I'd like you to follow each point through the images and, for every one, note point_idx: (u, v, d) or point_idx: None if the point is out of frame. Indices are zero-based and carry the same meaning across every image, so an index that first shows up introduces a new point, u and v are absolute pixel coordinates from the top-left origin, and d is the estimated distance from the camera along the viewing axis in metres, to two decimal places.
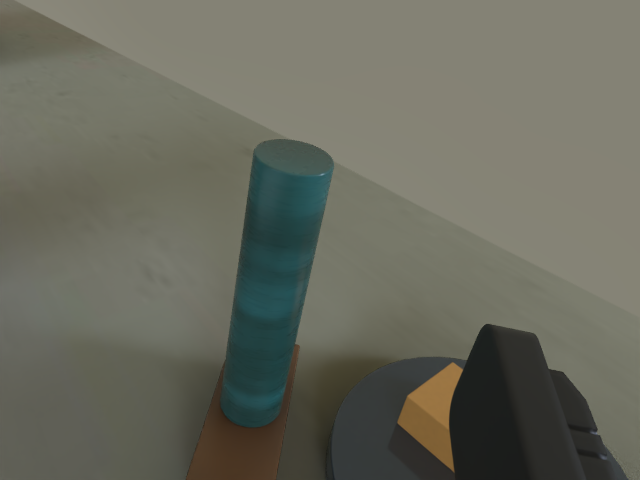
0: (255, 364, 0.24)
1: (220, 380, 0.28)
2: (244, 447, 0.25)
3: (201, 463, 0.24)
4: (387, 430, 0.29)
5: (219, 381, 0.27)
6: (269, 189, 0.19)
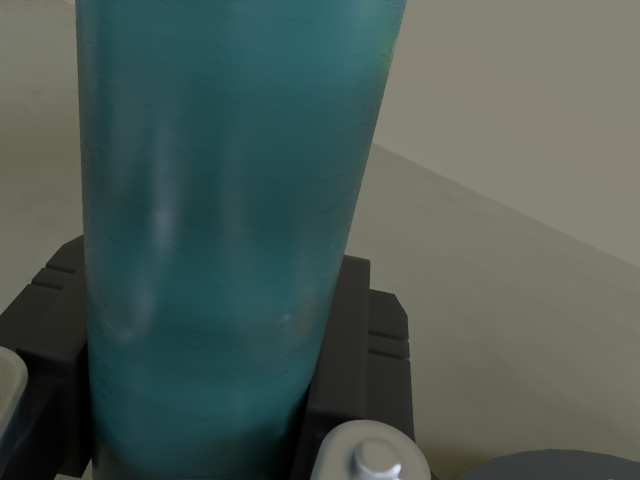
0: None
1: None
2: None
3: None
4: None
5: None
6: None
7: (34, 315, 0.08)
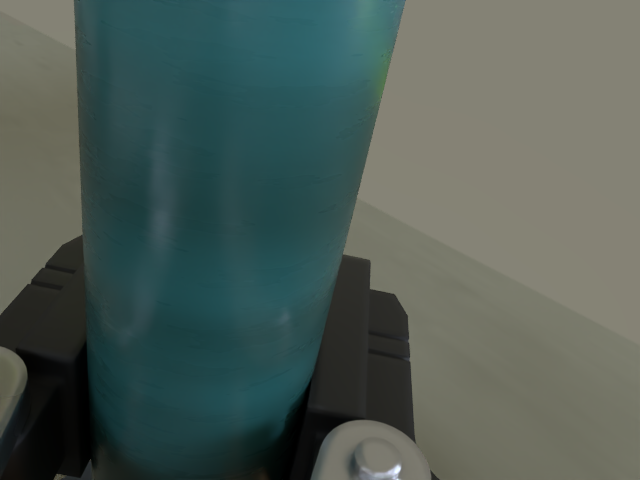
0: None
1: None
2: None
3: None
4: None
5: None
6: None
7: (34, 316, 0.08)
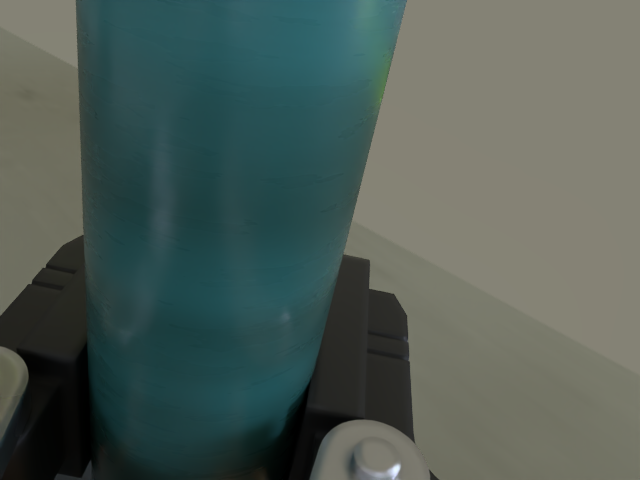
0: None
1: None
2: None
3: None
4: None
5: None
6: None
7: (34, 316, 0.08)
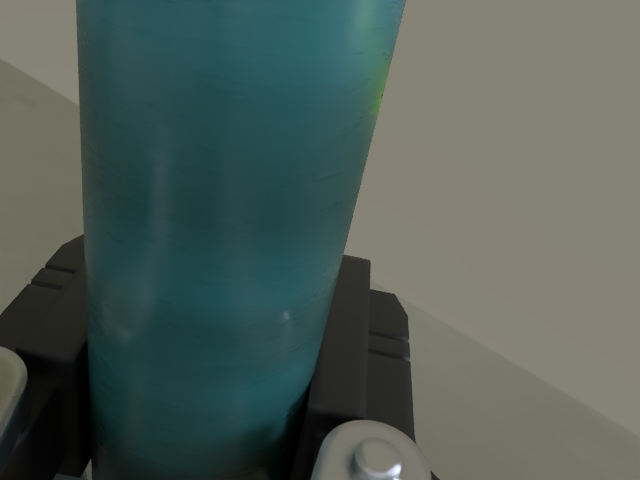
0: None
1: None
2: None
3: None
4: None
5: None
6: None
7: (33, 316, 0.08)
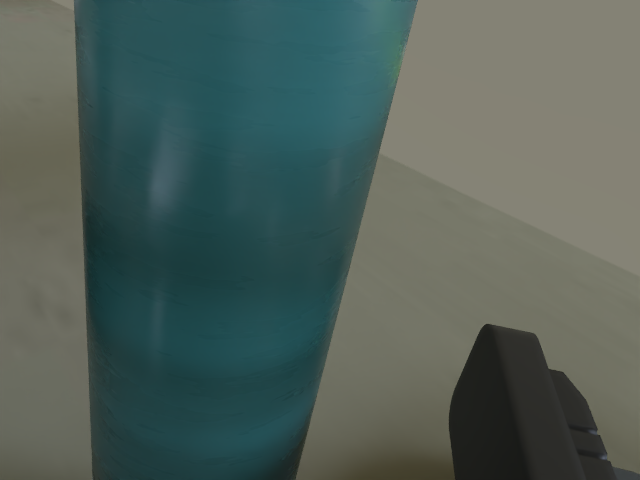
0: None
1: None
2: None
3: None
4: None
5: None
6: (130, 5, 0.04)
7: None
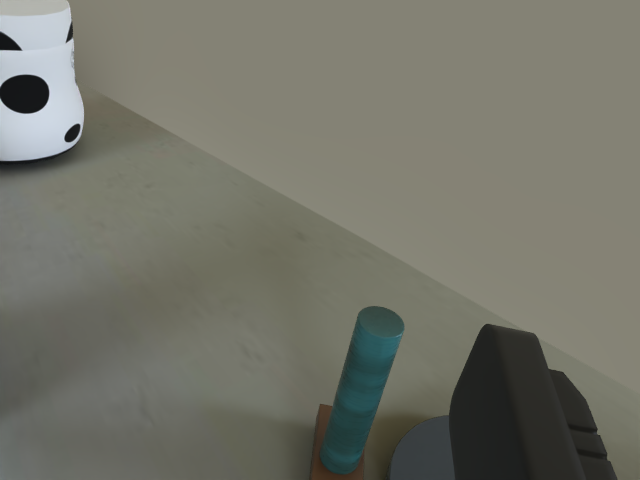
0: (349, 437, 0.38)
1: (317, 441, 0.42)
2: None
3: None
4: (425, 471, 0.43)
5: (316, 442, 0.42)
6: (368, 343, 0.34)
7: None
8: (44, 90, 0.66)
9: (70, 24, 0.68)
